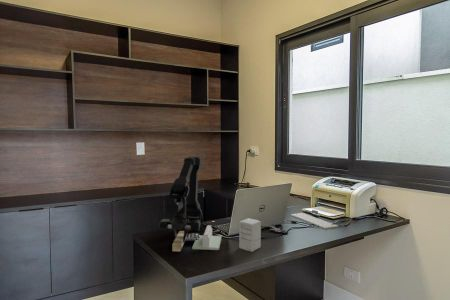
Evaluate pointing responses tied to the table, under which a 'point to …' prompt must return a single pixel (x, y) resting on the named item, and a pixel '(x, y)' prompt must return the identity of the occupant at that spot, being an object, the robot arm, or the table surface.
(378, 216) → the table surface
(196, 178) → the robot arm
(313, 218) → the grey flat block
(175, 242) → the maple bar
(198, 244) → the ridge stand
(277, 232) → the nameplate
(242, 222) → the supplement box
